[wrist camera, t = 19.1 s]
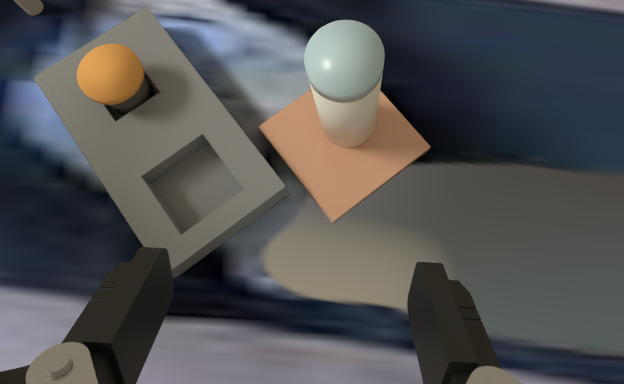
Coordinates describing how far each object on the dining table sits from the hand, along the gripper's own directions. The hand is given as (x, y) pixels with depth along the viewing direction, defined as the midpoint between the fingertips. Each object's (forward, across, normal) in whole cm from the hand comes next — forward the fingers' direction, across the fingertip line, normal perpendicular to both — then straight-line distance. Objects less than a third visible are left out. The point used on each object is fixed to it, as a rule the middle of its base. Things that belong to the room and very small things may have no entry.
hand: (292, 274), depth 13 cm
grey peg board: (+24, -13, -7) cm, 28 cm away
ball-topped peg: (+24, +3, -4) cm, 25 cm away
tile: (+24, +3, -6) cm, 25 cm away
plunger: (+26, -17, -4) cm, 31 cm away
